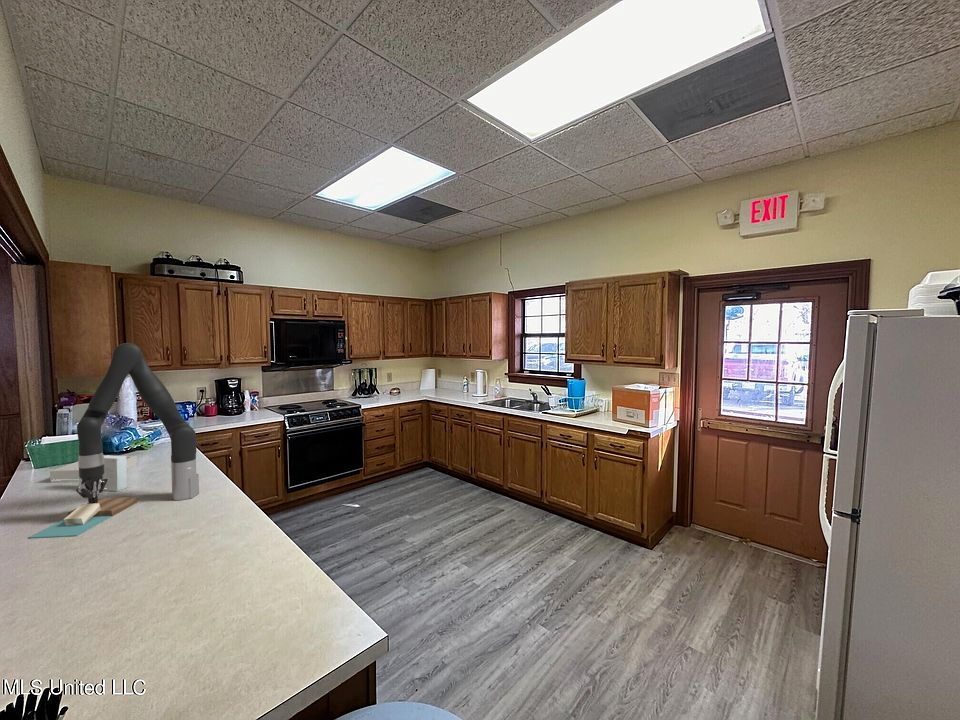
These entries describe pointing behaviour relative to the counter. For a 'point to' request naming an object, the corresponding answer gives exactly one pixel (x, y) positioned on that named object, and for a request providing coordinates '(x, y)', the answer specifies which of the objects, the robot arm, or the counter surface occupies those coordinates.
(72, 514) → the beige block
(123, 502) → the brown flat block
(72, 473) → the white stepped block
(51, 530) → the mat
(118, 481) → the skincare box
